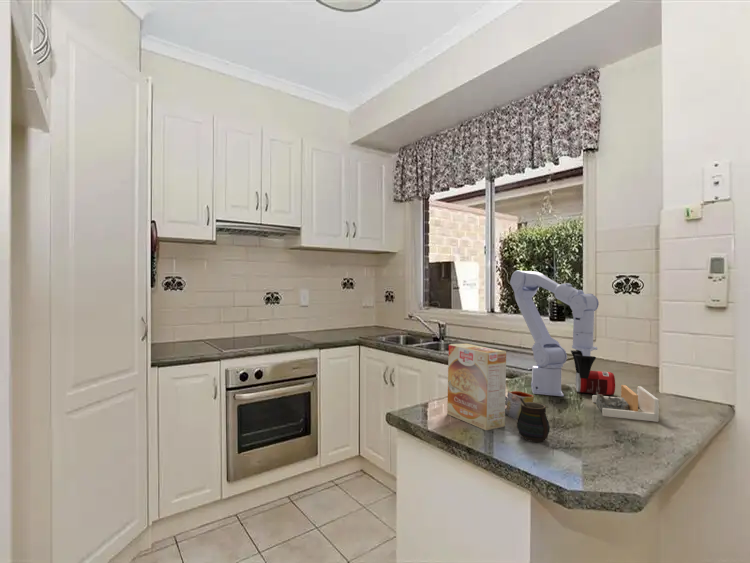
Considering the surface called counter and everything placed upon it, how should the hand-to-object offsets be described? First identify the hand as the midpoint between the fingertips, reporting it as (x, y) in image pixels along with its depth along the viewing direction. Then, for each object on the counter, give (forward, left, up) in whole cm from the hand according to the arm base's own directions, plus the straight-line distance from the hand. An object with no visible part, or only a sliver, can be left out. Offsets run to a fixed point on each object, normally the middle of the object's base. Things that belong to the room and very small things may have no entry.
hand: (582, 375), depth 131 cm
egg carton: (+8, -5, -9) cm, 13 cm away
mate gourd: (-16, -39, -9) cm, 43 cm away
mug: (-21, -22, -9) cm, 32 cm away
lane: (+10, -5, -9) cm, 14 cm away
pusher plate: (+12, -5, -9) cm, 15 cm away
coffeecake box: (-30, -30, -9) cm, 44 cm away
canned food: (+12, +14, -5) cm, 19 cm away
